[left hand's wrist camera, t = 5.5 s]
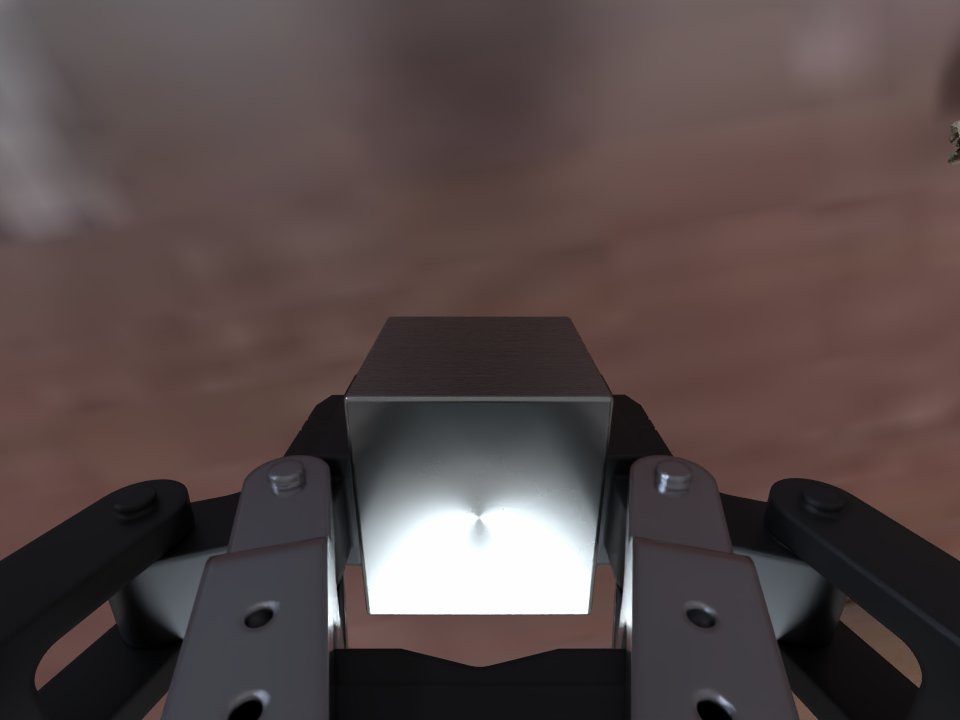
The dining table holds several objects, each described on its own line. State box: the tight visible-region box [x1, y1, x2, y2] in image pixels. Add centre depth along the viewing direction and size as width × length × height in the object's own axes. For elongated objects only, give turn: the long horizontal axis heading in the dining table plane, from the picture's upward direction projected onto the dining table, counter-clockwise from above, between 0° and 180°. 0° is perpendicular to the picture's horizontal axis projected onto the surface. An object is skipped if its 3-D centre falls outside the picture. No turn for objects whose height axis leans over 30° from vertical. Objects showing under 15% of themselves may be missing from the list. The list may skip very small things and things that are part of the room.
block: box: [344, 317, 614, 615], centre depth 11 cm, size 4×4×4 cm
